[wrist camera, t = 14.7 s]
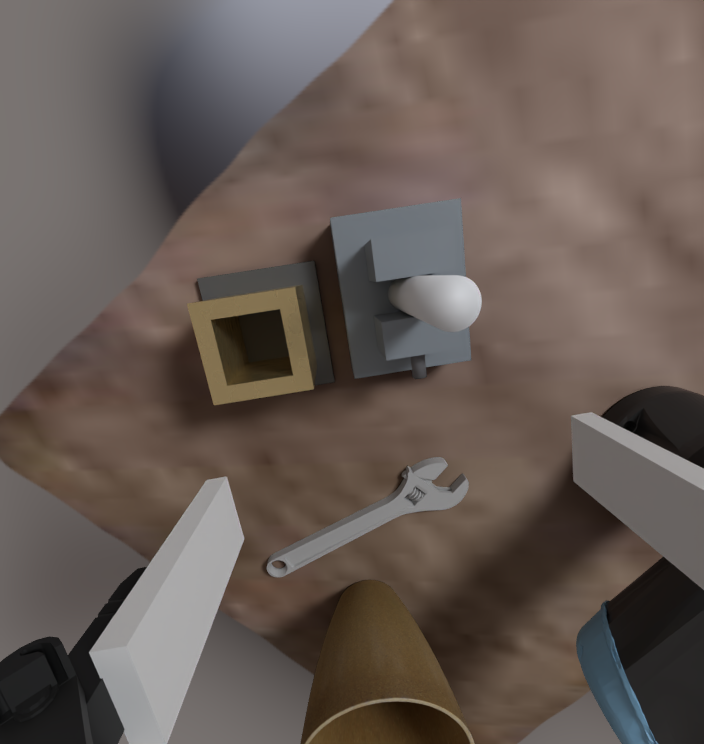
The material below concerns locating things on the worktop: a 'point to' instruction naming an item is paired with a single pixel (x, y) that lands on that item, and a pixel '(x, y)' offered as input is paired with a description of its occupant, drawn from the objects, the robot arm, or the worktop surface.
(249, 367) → the brass collar
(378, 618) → the plant pot
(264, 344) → the rubber mat
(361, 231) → the vise
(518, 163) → the worktop surface
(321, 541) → the adjustable wrench
